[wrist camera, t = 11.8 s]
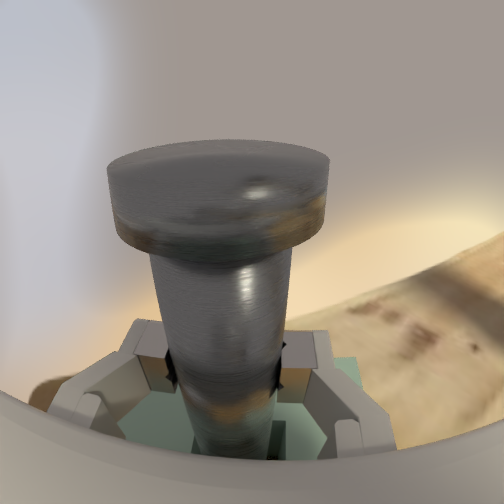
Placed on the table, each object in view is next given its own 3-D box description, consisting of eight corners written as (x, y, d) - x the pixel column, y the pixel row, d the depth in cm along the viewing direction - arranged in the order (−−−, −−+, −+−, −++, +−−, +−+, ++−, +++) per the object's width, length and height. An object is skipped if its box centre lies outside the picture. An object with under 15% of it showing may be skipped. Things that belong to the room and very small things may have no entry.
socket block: (337, 402, 22) (355, 357, 19) (351, 568, 9) (388, 567, 6) (160, 392, 23) (144, 346, 20) (117, 549, 10) (74, 538, 7)
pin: (278, 423, 14) (313, 142, 8) (277, 494, 10) (357, 187, 4) (199, 418, 14) (154, 142, 8) (185, 486, 11) (60, 187, 4)
